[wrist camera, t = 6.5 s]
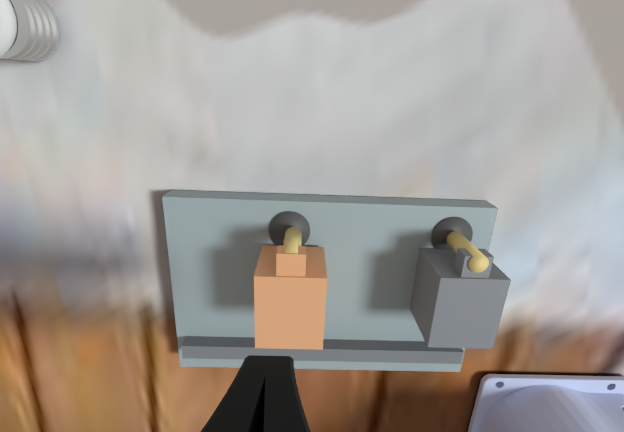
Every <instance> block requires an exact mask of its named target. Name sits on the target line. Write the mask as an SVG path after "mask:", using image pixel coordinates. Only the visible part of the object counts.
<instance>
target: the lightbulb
mask: <svg viewBox="0 0 624 432" xmlns="http://www.w3.org/2000/svg"><path fill="white" fill-rule="evenodd" d="M59 41H60V27H59V23H58V20H57V17H56V15H55V13H54V11H53V10H52V8H51V7H50V6H49V4H48V3H47V2H46V1H45V0H0V58H4V59H14V60H26V61H27V60H28V61H41V60H45V59H47V58H49V57H50V56H51V55H52V54H53V53H54V52H55V51H56V49H57V47H58V45H59Z"/></svg>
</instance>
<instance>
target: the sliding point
mask: <svg viewBox="0 0 624 432" xmlns="http://www.w3.org/2000/svg"><path fill="white" fill-rule="evenodd" d="M301 245H302V233H301V231H300V229H298V228H297V227H290V228H288V229H287V230H286V232H285V237H284V244H283V246H281V245H278V246H267V245H262V248H261V252H260V255H259V259H258V263H257V266H256V270H255V274H254V318H255V348H267V349H314V350H323V339H324V324H325V308H326V293H327V270H326V262H325V253H324V247H306V246H301Z"/></svg>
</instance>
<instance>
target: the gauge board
mask: <svg viewBox="0 0 624 432" xmlns="http://www.w3.org/2000/svg"><path fill="white" fill-rule="evenodd" d="M162 201H163V210H164V220H165V229H166V238H167V248H168V257H169V266H170V276H171V285H172V294H173V304H174V313H175V322H176V332H177V341H178V350H179V360H180V366H187V367H237V368H241V366H242V363H243V361H244V359H245V358H246V357H247V356H248V355H258V356H290V357H292V358H293V359H294V369H338V370H388V371H438V372H460V369H461V365H462V361H463V356H464V352H465V348H479V349H493V345H494V341H495V337H496V334H497V330H498V326H499V322H500V319H501V315H502V311H503V307H504V304H505V300H506V296H507V292H508V288H509V285H510V281H511V280H510V279H509V278H508V277H507V276H506V275H505V274H504V273H503V272H502V271H501V270H500V269H499V268H498V267H497V266H496V265H494V264H493V263H492V262H493V258H494V257H493V256H492V255H491V254H490V253H489V252H488V249H489V245H490V240H491V236H492V232H493V228H494V223H495V219H496V215H497V210H498V208H497V207H495V206H494V205H492V204H490V203H489V202H487V201H479V200H450V199H422V198H393V197H364V196H335V195H307V194H278V193H249V192H220V191H192V190H170V191H169V192H168V193H166V194H165V195H164V196H162ZM290 227H297V228H298V229H300V231H301V233H302V245H301V246H306V247H324V253H325V262H326V270H327V293H326V308H325V324H324V339H323V350H314V349H267V348H255V318H254V274H255V270H256V266H257V263H258V259H259V255H260V252H261V248H262V245H267V246H278V245H281V246H283V244H284V237H285V232H286V230H287V229H288V228H290Z"/></svg>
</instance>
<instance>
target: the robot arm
mask: <svg viewBox="0 0 624 432" xmlns="http://www.w3.org/2000/svg"><path fill="white" fill-rule="evenodd" d="M497 382H498V383H497ZM201 432H310V429H309V426H308V423H307V420H306V417H305V414H304V410H303V407H302V404H301V400H300V397H299V393H298V388H297V384H296V379H295V373H294V359H293V358H292V357H290V356H258V355H248V356H247V357H246V358H245V359H244V361H243V363H242V366H241V368H240V370H239V371H238V373H237V375H236V377H235V379H234V381H233V382H232V384H231V386H230V388H229V389H228V391H227V393H226V394H225V396H224V397H223V399H222V401H221V402H220V404H219V405H218V407H217V408H216V410H215V412H214V413H213V415H212V416H211V418H210V419H209V421H208V422H207V424H206V425H205V426H204V428H203V429H202V431H201ZM468 432H624V377H622V376H572V375H521V374H487V375H485V376H484V377H482V379H481V382H480V386H479V390H478V394H477V398H476V401H475V405H474V409H473V413H472V417H471V421H470V424H469V428H468Z"/></svg>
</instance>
